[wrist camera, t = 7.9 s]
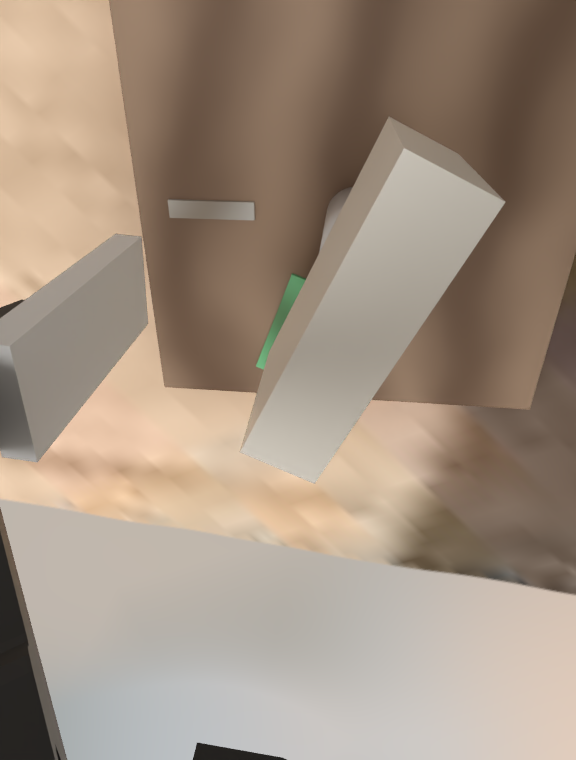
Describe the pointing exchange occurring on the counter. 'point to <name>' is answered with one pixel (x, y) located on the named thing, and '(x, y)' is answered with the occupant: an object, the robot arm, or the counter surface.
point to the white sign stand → (366, 295)
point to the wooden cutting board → (347, 172)
